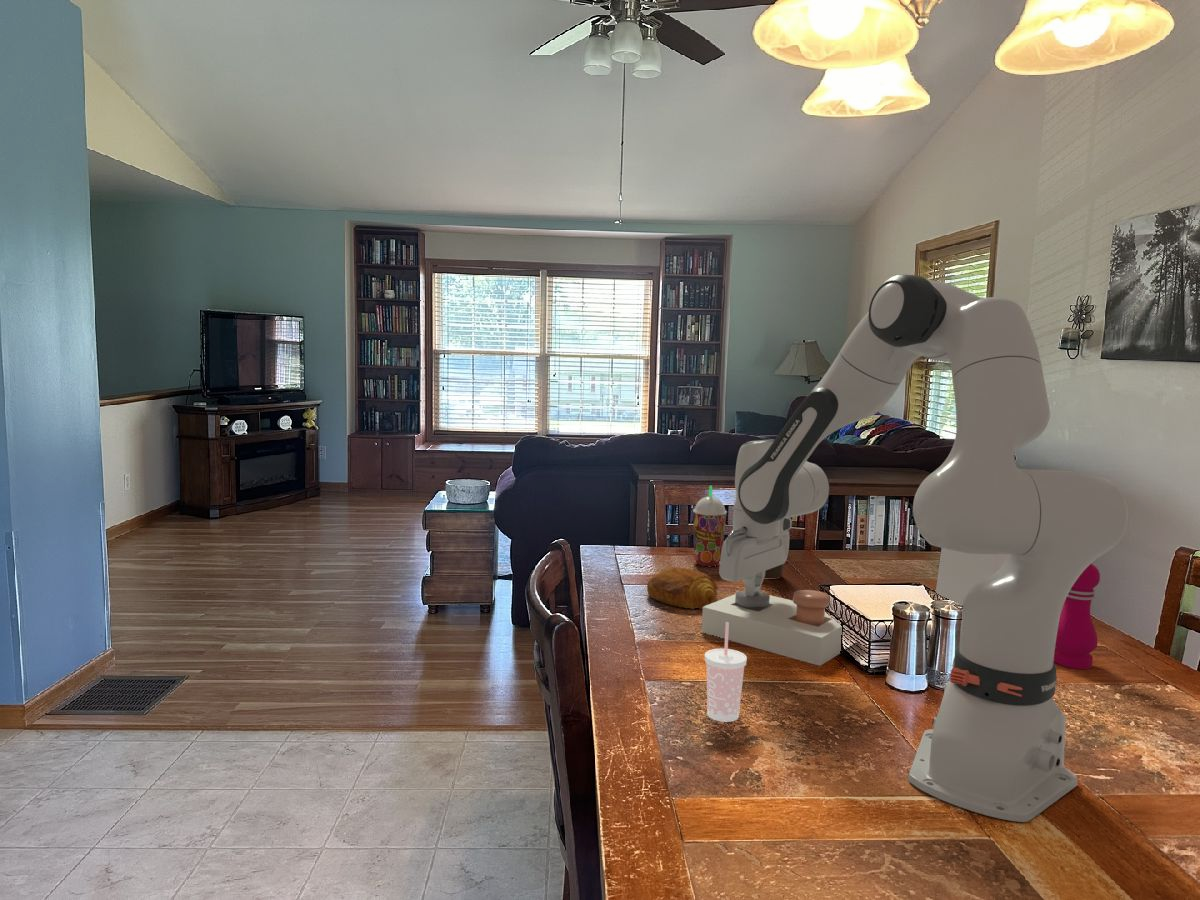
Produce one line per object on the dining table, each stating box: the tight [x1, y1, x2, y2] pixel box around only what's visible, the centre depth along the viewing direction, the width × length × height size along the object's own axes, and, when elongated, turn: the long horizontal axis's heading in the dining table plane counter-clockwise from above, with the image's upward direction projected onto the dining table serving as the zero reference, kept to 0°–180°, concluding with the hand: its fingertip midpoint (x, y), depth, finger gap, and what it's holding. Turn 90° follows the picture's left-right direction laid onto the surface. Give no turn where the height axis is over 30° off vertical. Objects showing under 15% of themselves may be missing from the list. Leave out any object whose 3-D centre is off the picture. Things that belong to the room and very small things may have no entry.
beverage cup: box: [704, 622, 748, 723], centre depth 120 cm, size 6×6×14 cm
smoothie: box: [692, 485, 728, 567], centre depth 205 cm, size 8×8×20 cm
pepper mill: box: [1053, 563, 1101, 670], centre depth 144 cm, size 7×7×20 cm
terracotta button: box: [792, 589, 831, 627], centre depth 150 cm, size 6×6×6 cm
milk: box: [935, 548, 1008, 605], centre depth 166 cm, size 12×12×26 cm
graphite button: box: [735, 589, 770, 611], centre depth 158 cm, size 6×6×6 cm
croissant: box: [646, 566, 719, 610], centre depth 176 cm, size 14×16×8 cm
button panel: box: [701, 593, 842, 667], centre depth 154 cm, size 16×24×5 cm, turn 50°
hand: (752, 594), depth 157 cm, fingers closed, pressing on graphite button
